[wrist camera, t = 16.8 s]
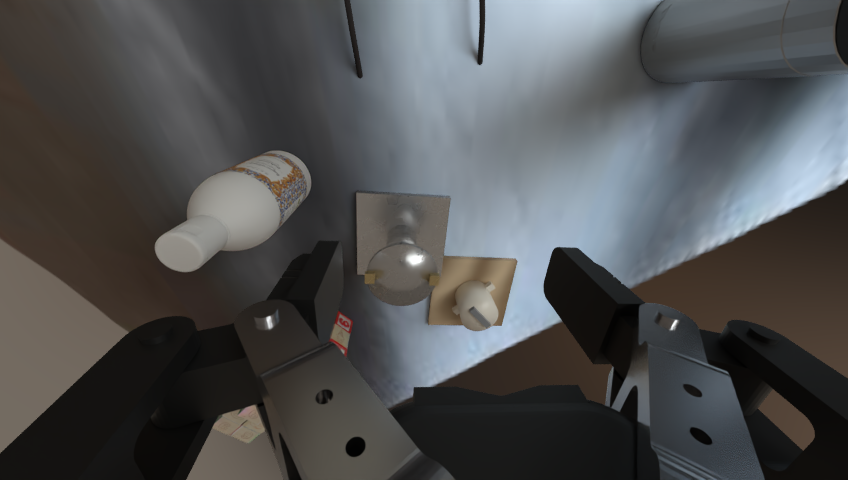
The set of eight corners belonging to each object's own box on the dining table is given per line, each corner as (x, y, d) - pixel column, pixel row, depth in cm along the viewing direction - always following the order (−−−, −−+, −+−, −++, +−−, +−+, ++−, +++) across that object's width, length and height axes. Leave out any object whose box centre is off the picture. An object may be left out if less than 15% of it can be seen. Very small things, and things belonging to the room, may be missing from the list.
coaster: (515, 258, 45) (517, 261, 44) (500, 322, 50) (501, 325, 50) (435, 255, 44) (435, 258, 43) (428, 321, 49) (428, 324, 48)
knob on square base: (449, 195, 40) (466, 230, 30) (439, 273, 45) (451, 325, 35) (357, 190, 39) (342, 224, 29) (358, 270, 44) (345, 323, 34)
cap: (500, 291, 47) (512, 315, 42) (463, 317, 48) (470, 343, 43) (481, 269, 45) (491, 292, 40) (442, 297, 46) (448, 322, 41)
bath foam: (319, 164, 37) (245, 228, 19) (303, 212, 40) (224, 310, 22) (261, 139, 36) (120, 184, 18) (248, 191, 38) (113, 278, 20)
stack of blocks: (271, 390, 53) (237, 467, 42) (239, 372, 51) (194, 449, 40) (354, 320, 48) (340, 387, 37) (322, 297, 46) (298, 362, 35)
